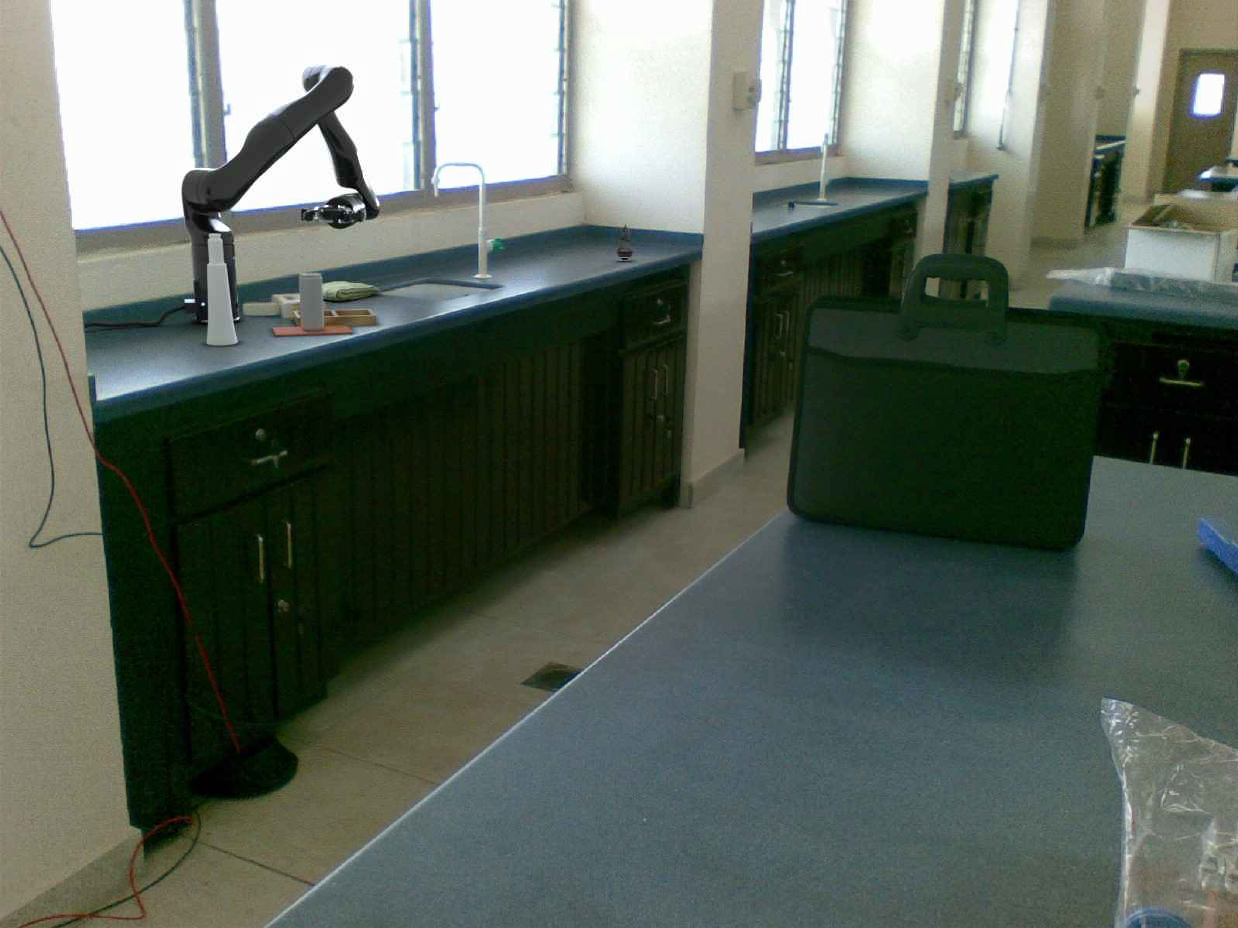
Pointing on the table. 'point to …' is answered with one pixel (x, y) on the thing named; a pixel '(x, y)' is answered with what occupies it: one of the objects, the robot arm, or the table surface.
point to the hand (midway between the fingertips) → (326, 217)
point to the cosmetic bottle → (218, 297)
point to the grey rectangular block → (311, 301)
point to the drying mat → (300, 332)
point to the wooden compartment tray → (344, 317)
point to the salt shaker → (625, 244)
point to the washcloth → (347, 290)
